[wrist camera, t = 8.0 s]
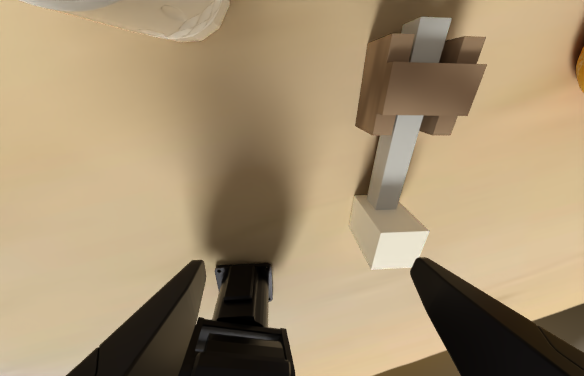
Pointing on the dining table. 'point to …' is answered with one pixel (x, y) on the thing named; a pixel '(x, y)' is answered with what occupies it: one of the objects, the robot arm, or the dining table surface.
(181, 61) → the dining table surface
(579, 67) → the fruit
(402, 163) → the grey bar
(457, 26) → the dining table surface
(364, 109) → the housing
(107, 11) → the white cup
